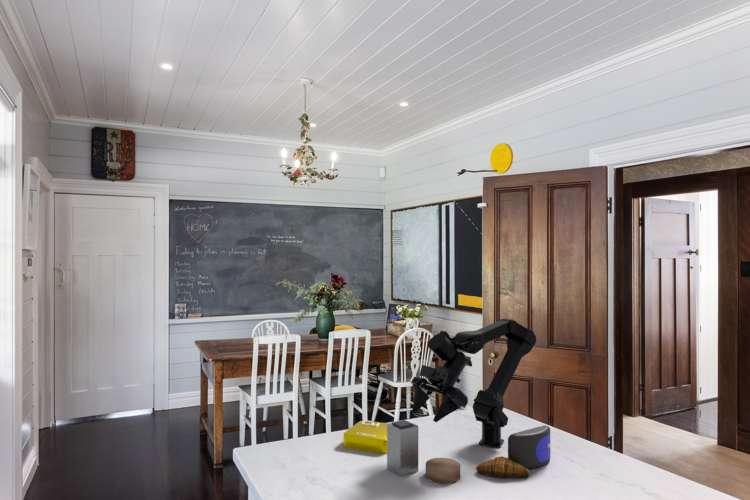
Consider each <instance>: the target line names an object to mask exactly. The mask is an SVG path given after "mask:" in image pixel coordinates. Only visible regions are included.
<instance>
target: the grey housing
mask: <svg viewBox="0 0 750 500" xmlns="http://www.w3.org/2000/svg"><path fill="white" fill-rule="evenodd" d="M386 458H387V459H386V469H387V470H389V471H390V472H392V473H394V474H395V475H397V476H399V477H403V476H407V475H410V474H413V473H417V472H419V425H417V424H415V423H412V422H410V421H408V420H406V419H402V420H396V421H393V422H390V423H388V424H387V453H386Z"/></svg>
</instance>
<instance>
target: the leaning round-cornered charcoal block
mask: <svg viewBox="0 0 750 500" xmlns="http://www.w3.org/2000/svg"><path fill="white" fill-rule="evenodd" d="M507 458H509V459H510V460H511V461H513V462H516V463H518V464H520V465H522V466H524V467H525V468H527V469H528V470H532V469H536V468H537V469H538V468H540V467H543V466H545V465H546V464H548V462H550V459H551V427H550V426H549V425H540V426H537V427H534V428H533V427H532V428H529V429H525V430H521V431H518V432H514V433H511V434H509V436H508V437H507Z"/></svg>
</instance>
